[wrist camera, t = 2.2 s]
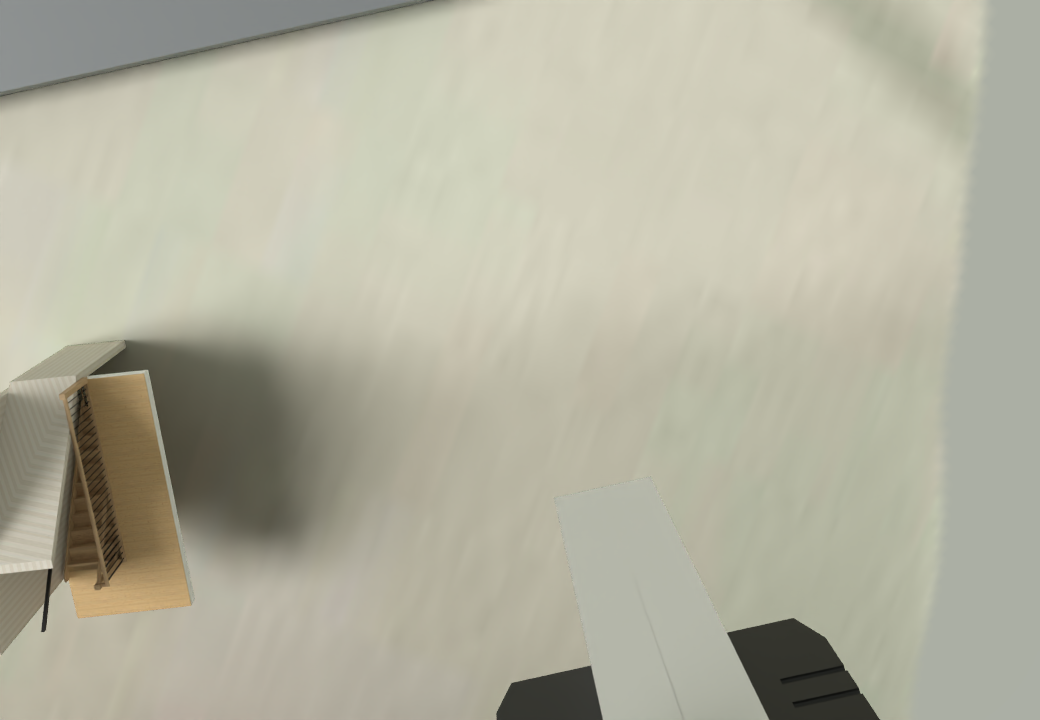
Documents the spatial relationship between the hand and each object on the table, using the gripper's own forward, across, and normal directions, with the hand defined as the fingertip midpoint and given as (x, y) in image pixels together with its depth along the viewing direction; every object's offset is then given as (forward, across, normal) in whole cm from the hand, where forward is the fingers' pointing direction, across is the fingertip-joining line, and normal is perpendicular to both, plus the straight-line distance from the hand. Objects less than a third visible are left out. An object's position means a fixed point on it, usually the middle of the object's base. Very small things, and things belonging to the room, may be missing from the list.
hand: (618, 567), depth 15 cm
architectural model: (+15, -13, 0) cm, 20 cm away
